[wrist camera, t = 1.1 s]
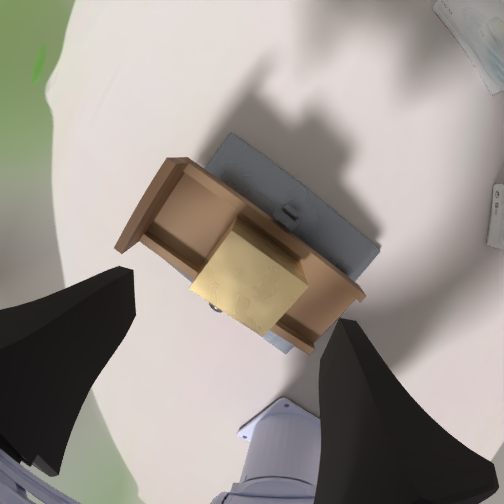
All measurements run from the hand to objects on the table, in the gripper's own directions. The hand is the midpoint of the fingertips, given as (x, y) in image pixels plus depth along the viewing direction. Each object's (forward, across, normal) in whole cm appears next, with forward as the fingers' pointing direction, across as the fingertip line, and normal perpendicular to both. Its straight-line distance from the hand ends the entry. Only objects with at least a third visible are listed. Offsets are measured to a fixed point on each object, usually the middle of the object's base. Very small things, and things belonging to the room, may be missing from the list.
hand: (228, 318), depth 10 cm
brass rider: (+9, 0, +3) cm, 10 cm away
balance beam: (+12, 0, +3) cm, 12 cm away
